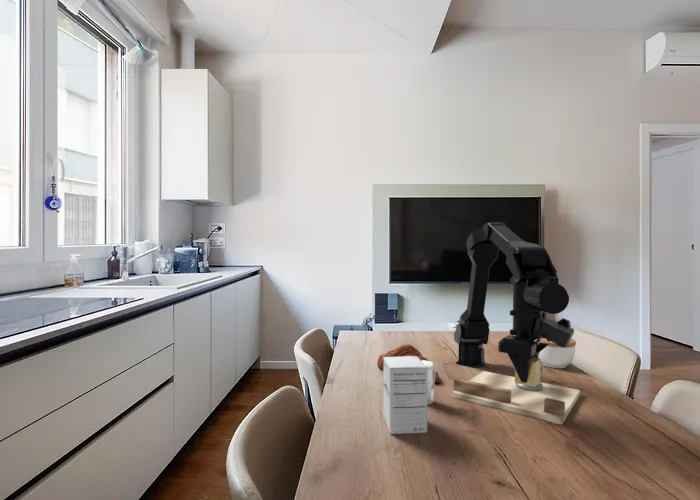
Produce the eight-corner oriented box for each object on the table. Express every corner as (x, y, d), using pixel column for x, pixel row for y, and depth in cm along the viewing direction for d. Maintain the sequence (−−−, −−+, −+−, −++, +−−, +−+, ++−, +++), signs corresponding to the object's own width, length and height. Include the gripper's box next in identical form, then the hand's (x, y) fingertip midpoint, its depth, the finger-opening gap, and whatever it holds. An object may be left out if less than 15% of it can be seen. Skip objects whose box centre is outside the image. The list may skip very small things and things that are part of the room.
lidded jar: (581, 372, 112) (581, 338, 111) (540, 369, 114) (540, 336, 114) (568, 361, 122) (568, 330, 122) (530, 359, 124) (531, 329, 124)
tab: (514, 382, 84) (514, 359, 84) (520, 377, 87) (520, 355, 87) (535, 387, 82) (535, 362, 82) (540, 381, 85) (540, 358, 85)
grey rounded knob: (512, 387, 96) (512, 366, 96) (519, 380, 101) (519, 360, 101) (539, 393, 92) (539, 371, 92) (545, 385, 97) (545, 365, 97)
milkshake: (426, 408, 86) (426, 362, 86) (411, 400, 91) (411, 356, 91) (442, 404, 88) (442, 359, 88) (427, 396, 93) (427, 353, 93)
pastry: (436, 367, 116) (436, 340, 116) (439, 385, 101) (439, 354, 101) (378, 364, 119) (378, 338, 119) (373, 382, 104) (373, 351, 104)
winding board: (451, 397, 93) (451, 381, 93) (483, 375, 108) (483, 361, 108) (561, 424, 78) (561, 406, 78) (579, 395, 94) (579, 379, 94)
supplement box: (382, 417, 82) (382, 356, 82) (418, 416, 82) (418, 355, 82) (389, 435, 74) (389, 367, 74) (428, 433, 75) (428, 366, 75)
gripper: (560, 316, 72) (559, 402, 72) (579, 304, 86) (578, 376, 87) (497, 309, 79) (497, 388, 79) (524, 299, 93) (524, 366, 94)
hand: (527, 379), depth 84 cm, fingers closed on tab, 4 cm apart
